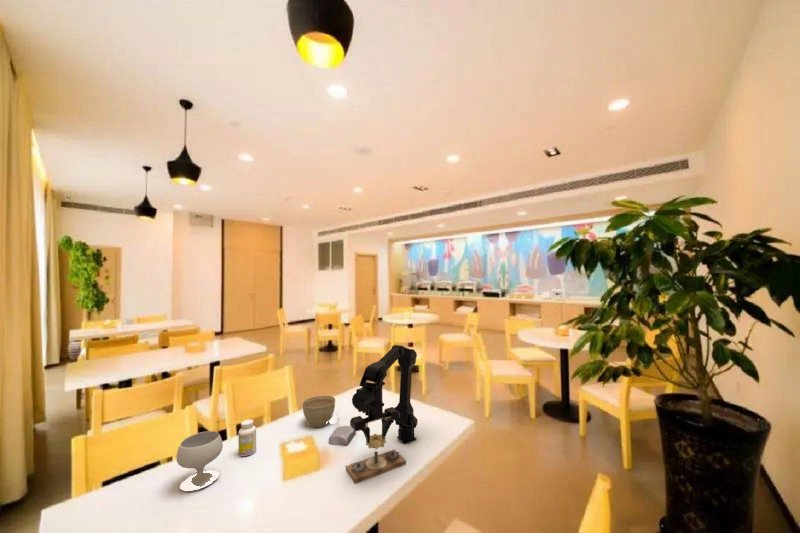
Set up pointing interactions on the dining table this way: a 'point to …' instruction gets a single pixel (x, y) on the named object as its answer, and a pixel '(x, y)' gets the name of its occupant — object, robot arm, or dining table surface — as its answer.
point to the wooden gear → (376, 441)
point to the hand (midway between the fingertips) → (375, 441)
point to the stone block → (342, 436)
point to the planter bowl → (318, 410)
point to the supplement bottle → (247, 438)
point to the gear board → (375, 465)
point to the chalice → (199, 454)
